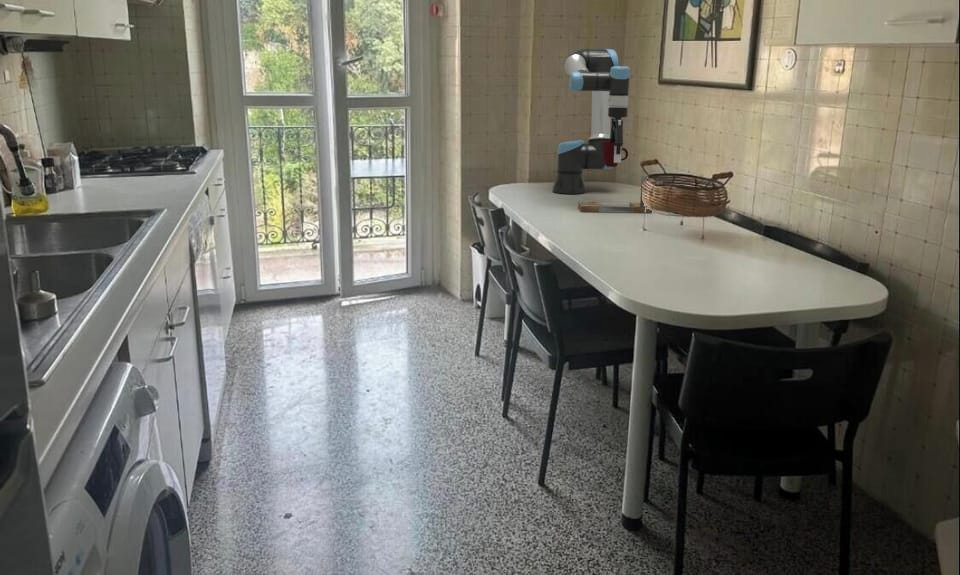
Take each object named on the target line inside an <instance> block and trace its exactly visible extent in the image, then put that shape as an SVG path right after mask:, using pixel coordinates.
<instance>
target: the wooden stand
mask: <svg viewBox="0 0 960 575" xmlns="http://www.w3.org/2000/svg"><path fill="white" fill-rule="evenodd" d="M647 177H648V178H649V176H648V175H642V176H641V188H640V201H639V202H629V204H628V205H629V206H623V205H622V206H621V205H620V206H617V205H616V206H615V205H614V206H612V205H611V206H607V205H605V206H604V205H599V204H598V203H597V202H596V201H578V202H577V204H578V205H577V208H578V210H579V211H580V213H599V212H615V213H616V212H618V213H619V212H621V213H622V212H628V213H629V212H630V213H634V214H653V209H652V210H650V209H646V213H644V211H645V206H644V203H643V201H642V184H643V182H644V181H646V179H647Z"/></svg>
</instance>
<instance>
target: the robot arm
mask: <svg viewBox="0 0 960 575" xmlns="http://www.w3.org/2000/svg"><path fill="white" fill-rule="evenodd" d="M563 69H564V72H565V73H566V74H567V75H568V76H569V80H568V84H569V90H570V91H572V92H574V91H575V92H591V128H590V129H591V132H590V133H591V134H590V137H589V138H588V139H587V142H586V143H585V141H584V139H583V140H582V139H580V140H579V139H577V140H568V141H563V142H560V143H559V144H558V146H557V153H556V154H557V168H556V171H557V172H556V177H555V180H554V183H553V186H552V192H553V193H556V194H571V195H574V194H585V193H586V191H587V188H586V184H585V180H584V177H583V173H584V172H583V170H602V171H604V170H611V169H613V167H607V166H606V164H605V162H604V159H603V151H602V142H615V143H614V146H615V149H614V163H618V164H619V163H620V164H621V163H622V161H621V159H622V151H623V150H622V148H623V145H624V132H623V131H624V129H623V125H624V124H623V123H624V119H622V118H627V117H628V108H627V107H629V106H628V105H629V90H630V89H629V88H630V76H631V73H630V71H631V69H630V67H629V66H620V65H619V57H618V54H617V52H616V50H614V49H611V48H610V49H609V48H579V49H575V50H574V51H572V52H570V53H568V55H567V56H566V57H565V59H564V62H563Z"/></svg>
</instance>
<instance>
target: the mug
mask: <svg viewBox="0 0 960 575" xmlns="http://www.w3.org/2000/svg"><path fill="white" fill-rule="evenodd" d="M614 143H615V142H602V151H603V159H604V162H605V164H606V166H607V167H612V168H616V167H618V165H619V163H614V149H615V146H614ZM622 151H624V152H625V156H624V157H623V158H621V162H622V161H625V160H626V159H628V157H629V151H628V150H627V149H626V148H625V147H622Z"/></svg>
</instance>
